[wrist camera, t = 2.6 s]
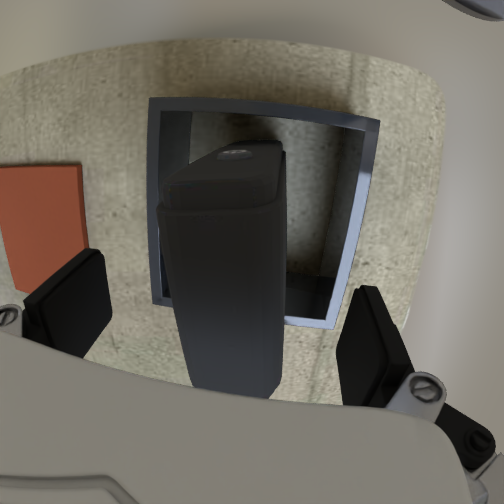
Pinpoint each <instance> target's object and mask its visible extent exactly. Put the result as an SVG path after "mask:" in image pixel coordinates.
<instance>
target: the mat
mask: <svg viewBox="0 0 504 504" xmlns="http://www.w3.org/2000/svg"><path fill="white" fill-rule="evenodd" d="M0 226H1V231H2V236H3V241H4V246H5V250H6V254H7V258H8V262H9V266H10V270H11V274H12V277H13V281H14V284H15V288H16V289H17V290H20V291H23V292H26V293H29V294H31V293H32V292H33V291H34V290H35V289H37V288H38V287H39V286H40V285H41V284H42V283H43V282H45V281H46V280H47V279H48V278H49V277H50V276H52V275H53V274H54V273H55V272H56V271H57V270H59V269H60V268H61V267H62V266H63V265H65V264H66V263H67V262H68V261H69V260H71V259H72V258H73V257H74V256H76V255H77V254H78V253H79V252H81V251H82V250H83V249H85V248H89V245H88V237H87V228H86V219H85V209H84V196H83V181H82V165H32V166H7V167H0Z"/></svg>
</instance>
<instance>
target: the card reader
mask: <svg viewBox="0 0 504 504" xmlns="http://www.w3.org/2000/svg"><path fill="white" fill-rule="evenodd" d="M161 187H162V195H163V201H162V202H160V203H159V205H158V206H157V208H156V214H157V221H158V228H159V234H160V240H161V246H162V252H163V258H164V263H165V269H166V274H167V279H168V284H169V290H170V295H171V299H172V304H173V309H174V314H175V318H176V323H177V327H178V332H179V336H180V340H181V345H182V349H183V353H184V357H185V361H186V365H187V369H188V373H189V377H190V380H191V382H192V385H193V386H194V387H196V388H201V389H206V390H212V391H218V392H223V393H230V394H236V395H243V396H250V397H257V398H265V399H268V398H269V397H270V396H271V395H272V393H273V392H274V391H275V389H276V388H277V387H278V385H279V384H280V381H281V377H282V362H283V342H284V319H285V291H286V257H287V196H286V153H285V152H284V151H283V150H282V143H281V141H278V140H272V139H268V140H243V141H237V142H234V143H232V144H229V145H226V146H224V147H221V148H219V149H217V150H215V151H213V152H212V153H210V154H208V155H206V156H204V157H202V158H200V159H198V160H196V161H195V162H193V163H191V164H189V165H187V166H185V167H184V168H182V169H180V170H178V171H177V172H175V173H173V174H172V175H170V176H168V177H167V178H166V179H164V180H163V183H162V186H161Z"/></svg>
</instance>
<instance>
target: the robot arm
mask: <svg viewBox="0 0 504 504" xmlns="http://www.w3.org/2000/svg"><path fill="white" fill-rule="evenodd" d="M23 302H24V305H25V309H24V310H23V311H22V309H21V307H20V306H18V305H15V304H7V305H3V306H1V307H0V504H504V455H503V454H502V453H499V454H498V455H497V454H496V453H495V448H496V445H495V440H494V437H493V435H492V434H491V432H490V431H489V430H488V429H486V428H485V427H484V426H482V425H480V424H479V423H477V422H475V421H474V420H472V419H470V418H469V417H467V416H466V415H464V414H462V413H461V412H459V411H458V410H456V409H454V408H453V407H451V406H450V405H448V404H446V403H445V400H446V396H447V393H446V388H445V386H444V384H443V383H442V382H441V381H440V380H439V379H438V378H437V377H435V376H434V375H432V374H429V373H426V372H415V370H414V368H413V365H412V363H411V360H410V358H409V355H408V353H407V350H406V348H405V345H404V343H403V340H402V338H401V336H400V333H399V331H398V329H397V327H396V325H395V324H393V321H392V319H391V317H390V314H389V312H388V310H387V308H386V305H385V303H384V301H383V299H382V296H381V294H380V292H379V290H378V288H377V287H376V286H367V285H361V286H360V288H359V289H358V288H356V289H355V290H354V293H353V296H352V299H351V303H350V306H349V309H348V313H347V316H346V319H345V322H344V326H343V329H342V332H341V335H340V338H339V341H338V344H337V347H336V359H337V366H338V372H339V379H340V386H341V394H342V401H343V405H333V404H317V403H304V402H293V401H283V400H274V399H265V398H257V397H250V396H243V395H236V394H230V393H223V392H218V391H212V390H206V389H201V388H196V387H190V386H185V385H181V384H176V383H171V382H167V381H162V380H158V379H154V378H150V377H146V376H142V375H138V374H134V373H130V372H126V371H123V370H119V369H115V368H112V367H108V366H105V365H101V364H98V363H95V362H92V361H88V360H85V359H83V358H84V356H85V355H86V353H87V352H88V351H89V349H90V348H91V346H92V345H93V344H94V342H95V341H96V339H97V338H98V337H99V335H100V334H101V333H102V331H103V330H104V328H105V327H106V326H107V324H108V323H109V322H110V320H111V318H112V313H113V312H112V306H111V300H110V294H109V288H108V281H107V274H106V267H105V259H104V255H103V254H101V252H100V250H98V249H91V248H85V249H83V250H82V251H81V252H79V253H78V254H77V255H76V256H74V257H73V258H72V259H71V260H69V261H68V262H67V263H66V264H65V265H63V266H62V267H61V268H60V269H59V270H57V271H56V272H55V273H54V274H53V275H52V276H50V277H49V278H48V279H47V280H46V281H45V282H43V283H42V284H41V285H40V286H39V287H38V288H37V289H35V290H34V291H33V292H32V293H31V294H30V295H29V296H28V297H26V298H25V299H24V300H23Z"/></svg>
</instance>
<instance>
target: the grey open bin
mask: <svg viewBox="0 0 504 504" xmlns="http://www.w3.org/2000/svg"><path fill="white" fill-rule="evenodd" d="M192 111H196V112H219V113H234V114H247V115H258V116H268V117H277V118H286V119H294V120H301V121H308V122H315V123H321V124H327V125H333V126H339V127H344V128H345V130H344V137H343V144H342V151H341V158H340V164H339V170H338V177H337V183H336V189H335V194H334V200H333V206H332V211H331V217H330V222H329V227H328V232H327V237H326V243H325V247H324V252H323V257H322V262H321V267H320V271H319V276H316V275H308V274H301V273H293V272H286V291H285V319H284V324H285V325H293V326H302V327H311V328H320V329H330V330H334V327H335V324H336V320H337V317H338V314H339V310H340V307H341V303H342V300H343V296H344V293H345V289H346V286H347V282H348V278H349V274H350V271H351V267H352V263H353V259H354V255H355V251H356V247H357V243H358V238H359V234H360V230H361V225H362V221H363V216H364V212H365V207H366V202H367V197H368V192H369V187H370V182H371V176H372V171H373V165H374V159H375V153H376V147H377V141H378V134H379V128H380V120H377V119H373V118H368V117H364V116H359V115H354V114H349V113H344V112H338V111H332V110H327V109H321V108H314V107H307V106H300V105H293V104H285V103H276V102H266V101H256V100H243V99H228V98H205V97H150V98H149V108H148V128H147V175H146V181H147V229H148V250H149V266H150V279H151V291H152V302H153V304H155V305H161V306H166V307H172V308H173V304H172V299H171V295H170V290H169V284H168V279H167V274H166V269H165V263H164V258H163V252H162V246H161V240H160V234H159V228H158V221H157V214H156V208H157V206H158V205H159V203H160V202H162V201H163V195H162V187H161V186H162V183H163V180H164V179H166V178H167V177H168V176H170V175H172V174H173V173H175V172H177V171H178V170H180V169H182V168H184V167H185V166H187V165H189V148H190V131H191V116H192Z"/></svg>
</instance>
